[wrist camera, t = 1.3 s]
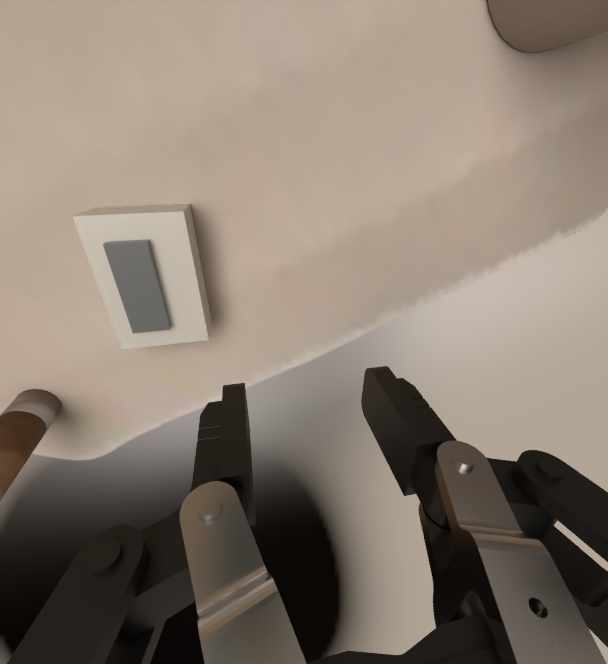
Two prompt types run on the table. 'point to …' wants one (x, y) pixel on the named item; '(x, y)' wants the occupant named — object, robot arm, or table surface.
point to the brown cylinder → (23, 431)
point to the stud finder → (148, 272)
